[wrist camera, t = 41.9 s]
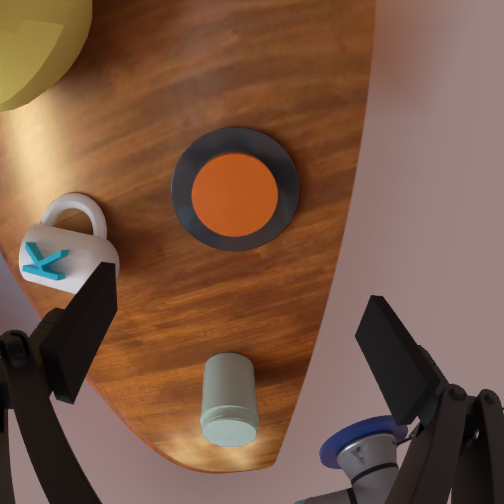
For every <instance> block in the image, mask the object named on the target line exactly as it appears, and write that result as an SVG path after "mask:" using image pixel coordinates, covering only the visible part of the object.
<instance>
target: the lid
mask: <svg viewBox="0 0 504 504" xmlns="http://www.w3.org/2000/svg"><path fill="white" fill-rule="evenodd" d="M277 201H278V189H277V185H276V182H275V179H274V177H273V175H272V173H271V172H270V170H269V169H268V167H267V166H266V165H265V164H264V163H263V162H262V161H261V160H259V159H258V158H256V157H255V156H253V155H250V154H248V153H244V152H226V153H222V154H220V155H217V156H215V157H213V158H212V159H210V160H209V161H208V162H207V163H206V164H205V165H204V166H203V167H202V168H201V170H200V172H199V173H198V175H197V177H196V179H195V181H194V184H193V188H192V203H193V207H194V210H195V212H196V214H197V216H198V218H199V219H200V220H201V222H202V223H203V224H204V225H205V226H206V227H208V228H209V229H210V230H212V231H214V232H216V233H218V234H221V235H224V236H230V237H239V236H245V235H248V234H251V233H254V232H255V231H257V230H259V229H260V228H262V227H263V226H264V225H265V224H266V223H267V222H268V221H269V220H270V218H271V217H272V215H273V213H274V211H275V209H276V206H277Z"/></svg>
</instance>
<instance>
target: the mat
mask: <svg viewBox="0 0 504 504" xmlns="http://www.w3.org/2000/svg"><path fill="white" fill-rule="evenodd" d="M226 152H244V153H248V154H250V155H253V156H255V157H256V158H258V159H259V160H261V161H262V162H263V163H264V164H265V165H266V166H267V167H268V169H269V170H270V172H271V173H272V175H273V177H274V179H275V182H276V185H277V189H278V201H277V206H276V209H275V211H274V213H273V215H272V217H271V218H270V220H269V221H268V222H267V223H266V224H265V225H264V226H263V227H262V228H260V229H259V230H257V231H255V232H254V233H251V234H248V235H245V236H239V237H230V236H224V235H221V234H218V233H216V232H214V231H212V230H210V229H209V228H208V227H206V226H205V225H204V224H203V223H202V222H201V220H200V219H199V218H198V216H197V214H196V212H195V210H194V207H193V203H192V188H193V184H194V181H195V179H196V177H197V175H198V173H199V172H200V170H201V168H202V167H203V166H204V165H205V164H206V163H207V162H208V161H209V160H210V159H212V158H213V157H215V156H217V155H220V154H222V153H226ZM171 196H172V203H173V207H174V210H175V212H176V215H177V217H178V219H179V220H180V222H181V223H182V225H183V226H184V228H185V229H186V230H187V231H188V232H189V233H190V234H191V235H192V236H193V237H195V238H196V239H197V240H199V241H200V242H202V243H204V244H206V245H208V246H210V247H213V248H216V249H220V250H225V251H244V250H250V249H253V248H257V247H259V246H261V245H264V244H266V243H267V242H269V241H271V240H272V239H274V238H275V237H276V236H278V235H279V234H280V233H281V232H282V231H283V230H284V228H285V227H286V226H287V225H288V223H289V222H290V220H291V218H292V217H293V214H294V212H295V210H296V207H297V203H298V198H299V180H298V175H297V171H296V168H295V166H294V163H293V161H292V160H291V158H290V156H289V155H288V153H287V152H286V151H285V150H284V148H283V147H282V146H281V145H279V144H278V143H277V142H276V141H275V140H273V139H272V138H271V137H269V136H267V135H265V134H263V133H261V132H258V131H256V130H253V129H248V128H241V127H229V128H223V129H218V130H215V131H212V132H210V133H208V134H206V135H204V136H202V137H201V138H199V139H198V140H196V141H195V142H194V143H193V144H191V145H190V146H189V147H188V148H187V149H186V151H185V152H184V153H183V154H182V156H181V158H180V159H179V161H178V163H177V165H176V167H175V170H174V173H173V177H172V183H171Z"/></svg>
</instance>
